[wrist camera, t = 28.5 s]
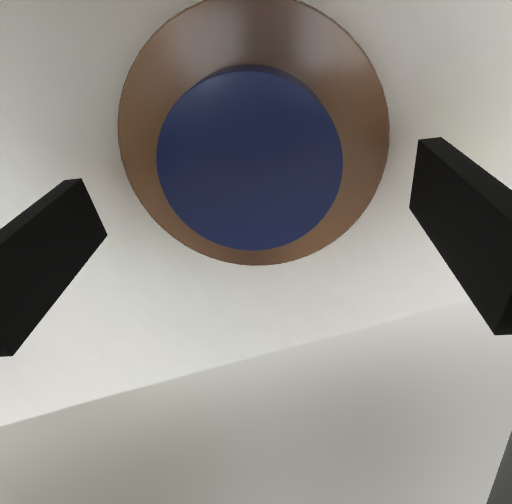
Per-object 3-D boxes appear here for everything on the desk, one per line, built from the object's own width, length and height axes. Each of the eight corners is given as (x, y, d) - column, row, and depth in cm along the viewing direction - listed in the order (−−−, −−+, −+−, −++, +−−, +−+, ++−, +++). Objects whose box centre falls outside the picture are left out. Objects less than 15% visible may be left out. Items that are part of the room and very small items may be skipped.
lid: (190, 237, 19) (182, 256, 18) (144, 78, 14) (128, 86, 13) (336, 224, 18) (342, 244, 17) (337, 50, 13) (344, 54, 12)
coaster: (401, -36, 12) (406, -39, 12) (377, 251, 20) (379, 257, 19) (75, 22, 14) (68, 22, 13) (165, 267, 21) (163, 273, 21)
